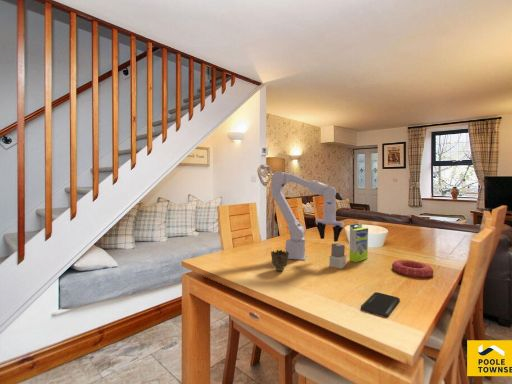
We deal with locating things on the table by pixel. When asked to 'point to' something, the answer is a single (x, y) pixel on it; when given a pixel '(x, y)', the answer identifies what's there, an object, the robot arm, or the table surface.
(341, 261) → the small box
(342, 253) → the charcoal block
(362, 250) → the box
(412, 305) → the table surface
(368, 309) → the phone
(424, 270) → the torus
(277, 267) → the cup
